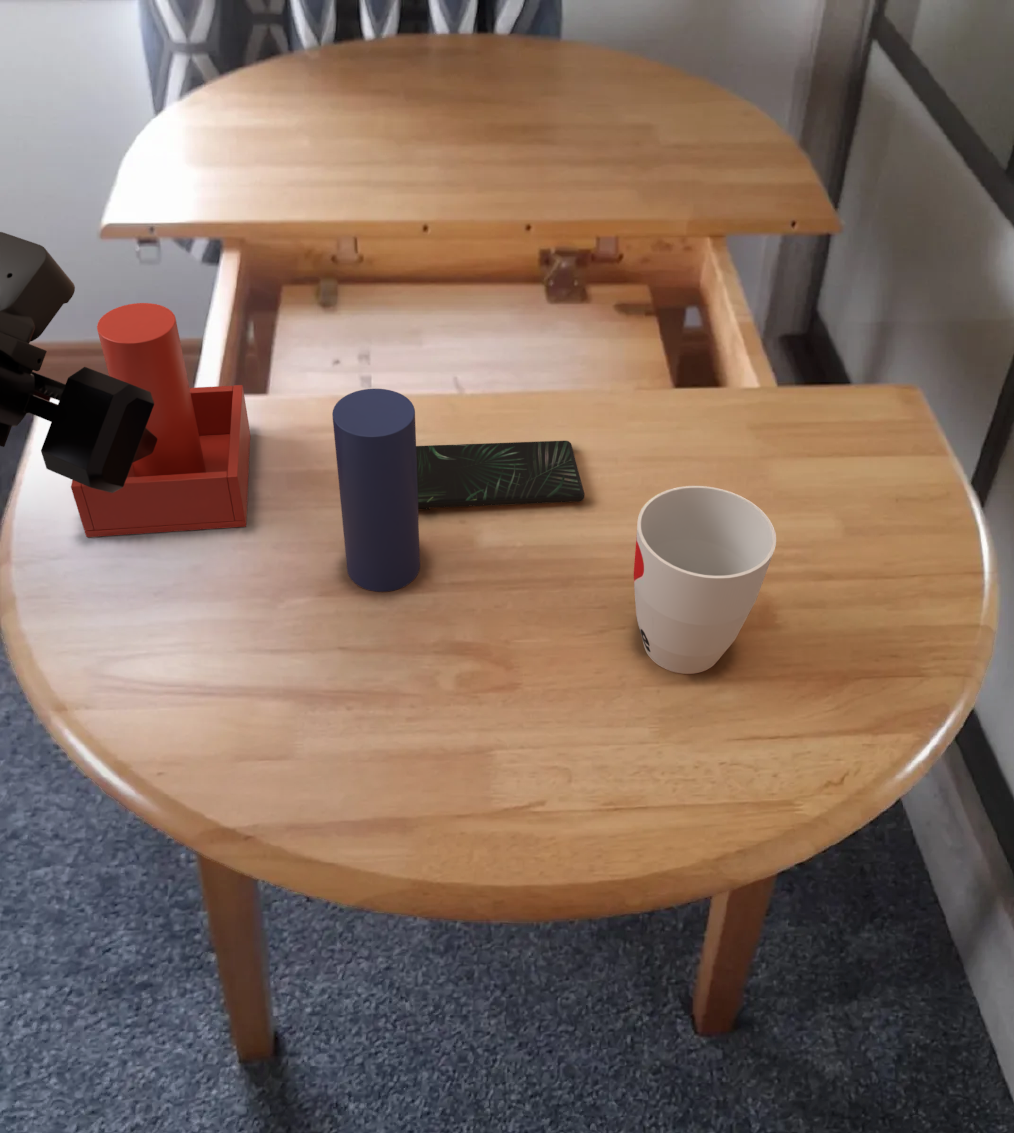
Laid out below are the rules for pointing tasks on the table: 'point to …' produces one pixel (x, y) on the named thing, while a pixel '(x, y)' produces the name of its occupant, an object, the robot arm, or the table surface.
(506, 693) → the table surface
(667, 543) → the cup
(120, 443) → the robot arm
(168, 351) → the red cylinder
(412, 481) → the navy cylinder
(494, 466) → the smartphone
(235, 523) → the red bin
